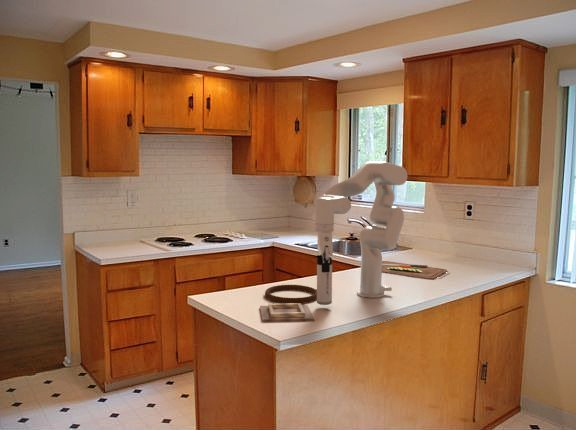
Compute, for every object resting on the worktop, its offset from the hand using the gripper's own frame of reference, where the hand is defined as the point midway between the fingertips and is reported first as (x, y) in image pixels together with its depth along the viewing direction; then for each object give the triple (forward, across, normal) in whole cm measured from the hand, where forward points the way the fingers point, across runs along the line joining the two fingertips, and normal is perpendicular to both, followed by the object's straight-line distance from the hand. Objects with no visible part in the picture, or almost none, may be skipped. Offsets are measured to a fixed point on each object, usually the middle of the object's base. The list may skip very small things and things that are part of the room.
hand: (324, 269), depth 216 cm
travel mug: (+14, 0, 0) cm, 14 cm away
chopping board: (+19, +69, -59) cm, 92 cm away
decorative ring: (+17, +20, +9) cm, 27 cm away
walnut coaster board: (+16, -8, +17) cm, 24 cm away
